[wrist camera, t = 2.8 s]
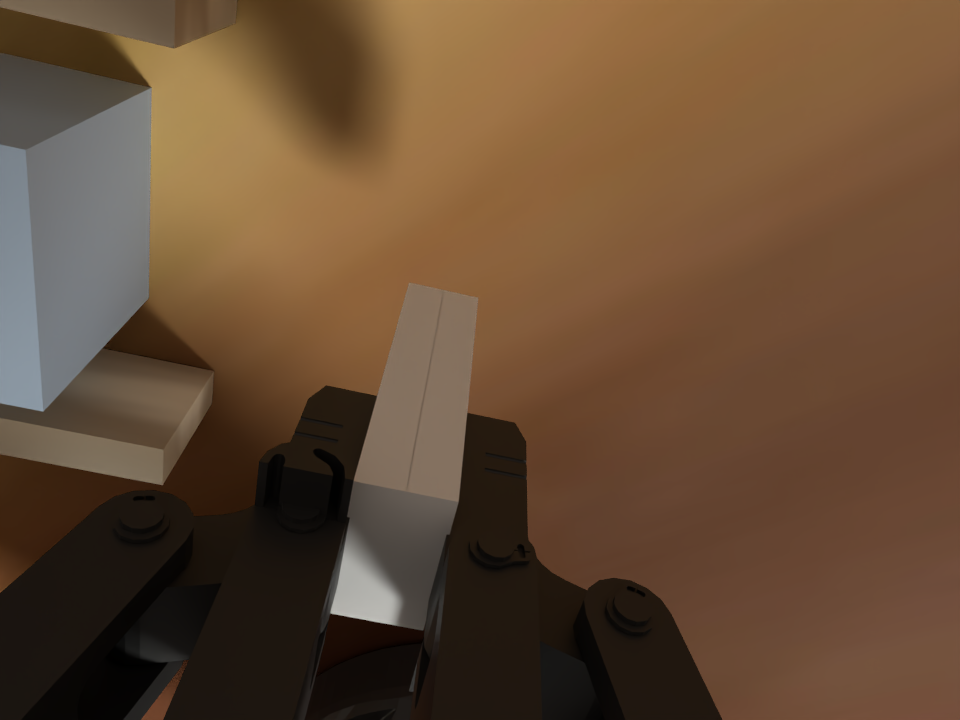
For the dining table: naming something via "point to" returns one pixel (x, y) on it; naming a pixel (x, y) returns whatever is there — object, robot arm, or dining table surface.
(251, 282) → the dining table surface
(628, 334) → the dining table surface
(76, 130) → the block
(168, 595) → the robot arm
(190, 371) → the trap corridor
